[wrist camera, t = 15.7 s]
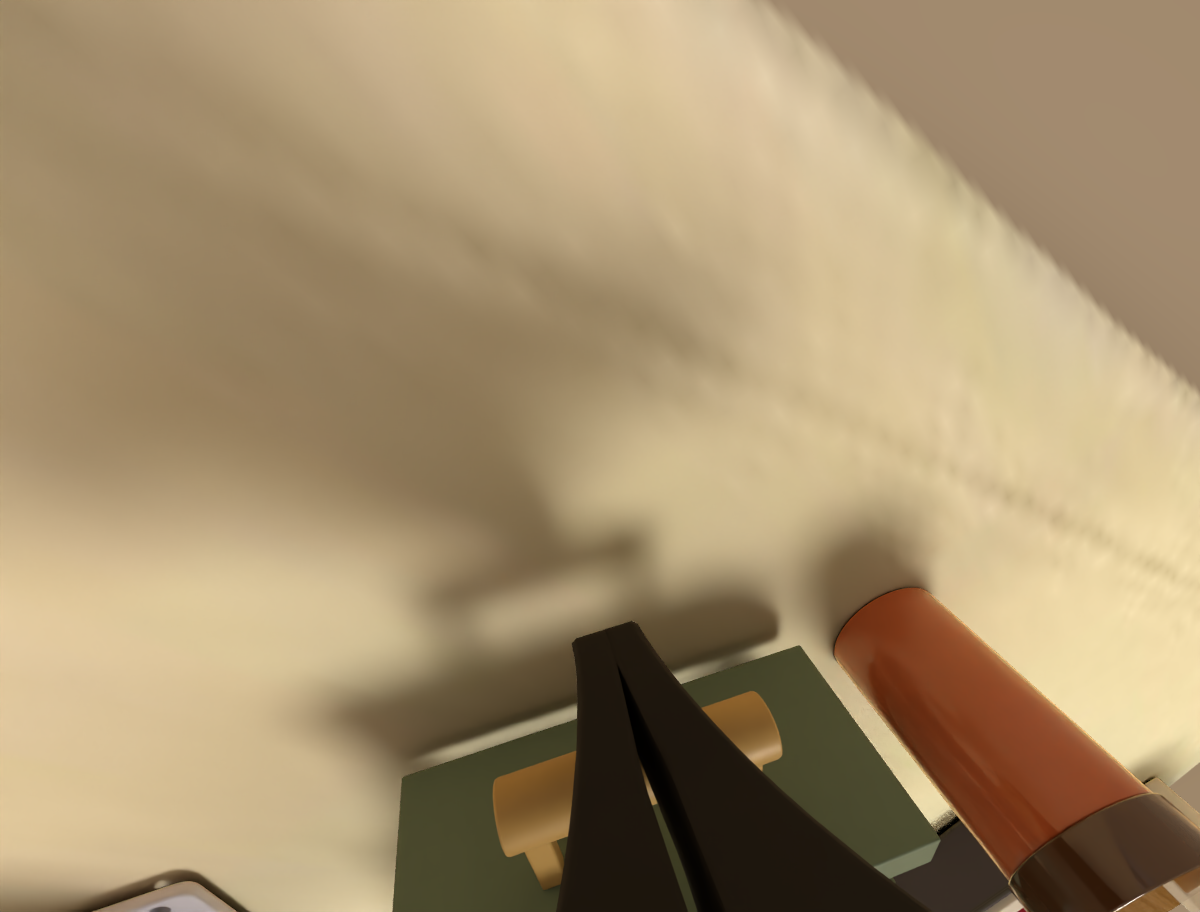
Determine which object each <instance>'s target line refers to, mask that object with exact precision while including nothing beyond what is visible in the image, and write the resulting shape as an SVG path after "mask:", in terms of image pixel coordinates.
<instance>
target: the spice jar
mask: <svg viewBox="0 0 1200 912" xmlns="http://www.w3.org/2000/svg"><path fill="white" fill-rule="evenodd" d="M834 654H835V658H836V661H837V662H838V664H839V665H840V666H841V668H842V669H843V670H844V671H845V673H846V674H847V675H848V677H849V678H850V679H851V680H852V682H853V683H854V684H855V686H856V687H857V688H858V689H859V691H860V692H861V693H862V695H863V696H864V697H865V698H866V700H867V701H868V702H869V704H870V705H871V706H872V707H873V709H874V710H875V711H876V713H877V714H878V715H879V716H880V718H881V719H882V720H883V722H884V723H885V724H886V725H887V727H888V728H889V729H890V731H891V732H892V733H893V734H894V736H895V737H896V738H897V740H898V741H899V742H900V743H901V745H902V746H903V747H904V749H905V750H906V751H907V752H908V754H909V755H910V756H911V757H912V759H913V760H914V761H915V763H916V764H917V765H918V766H919V768H920V769H921V770H922V772H923V773H924V774H925V775H926V777H927V778H928V779H929V781H930V782H931V783H932V784H933V786H934V787H935V788H936V790H937V791H938V792H939V793H940V795H941V796H942V797H943V799H944V800H945V801H946V802H947V804H948V805H949V806H950V808H951V809H952V810H953V811H954V813H955V814H956V815H957V817H958V818H959V819H960V820H961V822H962V823H963V824H964V826H965V827H966V828H967V829H968V831H969V832H970V833H971V835H972V836H973V837H974V838H975V840H976V841H977V842H978V844H979V845H980V846H981V847H982V849H983V850H984V851H985V853H986V854H987V855H988V856H989V858H990V859H991V860H992V862H993V863H994V864H995V865H996V867H997V868H998V869H999V870H1000V872H1001V873H1002V874H1003V876H1004V877H1005V878H1006V879H1007V881H1008V882H1009V883H1008V887H1009V889H1010V891H1011V892H1012V894H1013V895H1014V896H1015V897H1016V899H1017V900H1018V901H1019V903H1020V904H1021V905H1022V906H1023V908H1024V909H1025V910H1026V912H1168V911H1170V910H1172V909H1173V908H1175V907H1176V906H1178V905H1180V904H1181V903H1183V902H1184V901H1186V900H1187V899H1189V898H1190V897H1192V896H1193V895H1195V894H1196V893H1198V892H1199V891H1200V828H1199V827H1198V826H1197V825H1195V824H1194V823H1193V822H1192V821H1191V820H1190V819H1189V818H1188V817H1186V816H1185V815H1184V814H1183V813H1182V812H1181V811H1180V810H1179V809H1177V808H1176V807H1175V806H1174V805H1173V804H1172V803H1171V802H1170V801H1168V800H1167V799H1166V798H1165V797H1164V796H1162V795H1161V794H1159V793H1153V792H1152V791H1151V790H1150V789H1149V788H1148V787H1146V786H1145V785H1144V784H1143V783H1142V782H1141V781H1140V780H1139V779H1137V778H1136V777H1135V776H1134V775H1133V774H1132V773H1131V772H1130V771H1129V770H1127V769H1126V768H1125V767H1124V766H1123V765H1122V764H1121V763H1120V762H1118V761H1117V760H1116V759H1115V758H1114V757H1113V756H1112V755H1111V754H1110V753H1108V752H1107V751H1106V750H1105V749H1104V748H1103V747H1102V746H1101V745H1099V744H1098V743H1097V742H1096V741H1095V740H1094V739H1093V738H1092V737H1091V736H1089V735H1088V734H1087V733H1086V732H1085V731H1084V730H1083V729H1082V728H1080V727H1079V726H1078V725H1077V724H1076V723H1075V722H1074V721H1073V720H1072V719H1070V718H1069V717H1068V716H1067V715H1066V714H1065V713H1064V712H1063V711H1061V710H1060V709H1059V708H1058V707H1057V706H1056V705H1055V704H1054V703H1053V702H1051V701H1050V700H1049V699H1048V698H1047V697H1046V696H1045V695H1044V694H1042V693H1041V692H1040V691H1039V690H1038V689H1037V688H1036V687H1035V686H1034V685H1032V684H1031V683H1030V682H1029V681H1028V680H1027V679H1026V678H1025V677H1023V676H1022V675H1021V674H1020V673H1019V672H1018V671H1017V670H1016V669H1015V668H1013V667H1012V666H1011V665H1010V664H1009V663H1008V662H1007V661H1006V660H1004V659H1003V658H1002V657H1001V656H1000V655H999V654H998V653H997V652H996V651H994V650H993V649H992V648H991V647H990V646H989V645H988V644H987V643H985V642H984V641H983V640H982V639H981V638H980V637H979V636H978V635H977V634H975V633H974V632H973V631H972V630H971V629H970V628H969V627H968V626H966V625H965V624H964V623H963V622H962V621H961V620H960V619H959V618H958V617H956V616H955V615H954V614H953V613H952V612H951V611H950V610H949V609H947V608H946V607H945V606H944V605H943V604H942V603H941V602H940V601H939V600H937V599H936V598H935V597H934V596H933V595H932V594H931V593H929V592H928V591H926V590H924V589H920V588H903V589H899V590H895V591H892V592H889V593H887V594H885V595H883V596H880V597H879V598H877V599H875V600H873V601H872V602H870V603H869V604H867V605H866V606H864V607H863V608H862V609H861V610H859V611H858V612H857V613H856V614H855V615H854V616H853V617H852V618H851V619H850V620H849V621H848V622H847V624H846V625H845V626H844V628H843V629H842V631H841V632H840V634H839V636H838V638H837V640H836V643H835V648H834Z"/></svg>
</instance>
